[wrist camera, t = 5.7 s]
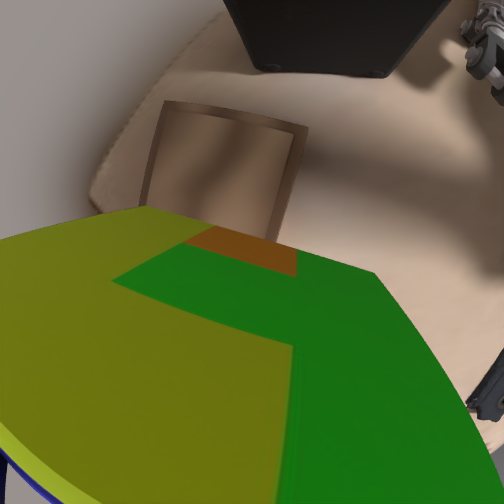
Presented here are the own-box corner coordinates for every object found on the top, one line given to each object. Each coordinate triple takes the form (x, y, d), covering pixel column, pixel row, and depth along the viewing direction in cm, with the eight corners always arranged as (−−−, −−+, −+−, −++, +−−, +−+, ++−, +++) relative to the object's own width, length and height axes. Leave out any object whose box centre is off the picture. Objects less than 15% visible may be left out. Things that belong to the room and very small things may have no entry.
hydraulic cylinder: (439, 84, 19) (489, 42, 9) (467, -16, 14) (487, -41, 4) (485, 129, 19) (542, 105, 9) (497, 10, 14) (521, -12, 4)
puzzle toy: (132, 374, 14) (35, 490, 4) (145, 205, 11) (-86, 270, 2) (294, 429, 13) (272, 586, 3) (374, 273, 10) (509, 505, 1)
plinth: (307, 135, 25) (308, 126, 21) (269, 265, 29) (264, 278, 25) (180, 109, 26) (163, 99, 22) (152, 228, 30) (132, 234, 26)
